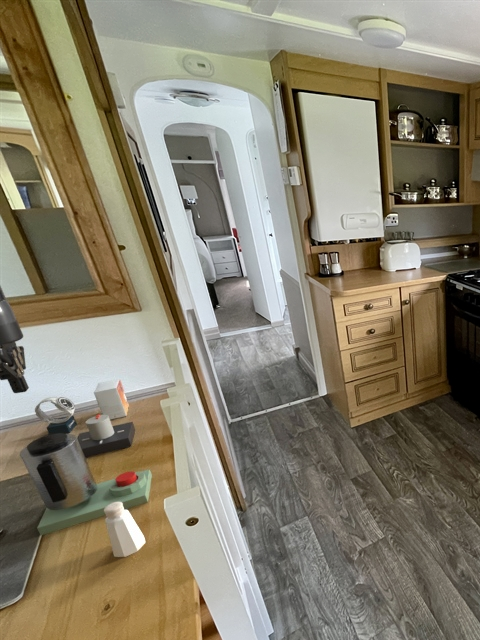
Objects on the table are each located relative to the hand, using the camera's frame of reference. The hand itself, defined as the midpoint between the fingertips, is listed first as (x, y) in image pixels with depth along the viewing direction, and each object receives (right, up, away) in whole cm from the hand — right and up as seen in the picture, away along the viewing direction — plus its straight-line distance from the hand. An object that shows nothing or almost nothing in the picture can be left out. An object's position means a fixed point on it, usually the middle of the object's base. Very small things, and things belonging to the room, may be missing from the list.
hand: (21, 391), depth 89 cm
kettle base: (+19, -27, 0) cm, 33 cm away
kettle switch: (+23, -22, +2) cm, 32 cm away
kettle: (+15, -24, -3) cm, 28 cm away
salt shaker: (+35, -32, -10) cm, 48 cm away
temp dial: (0, -15, +20) cm, 25 cm away
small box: (-11, -12, +36) cm, 40 cm away
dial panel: (0, -18, +21) cm, 28 cm away
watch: (-19, -15, +27) cm, 36 cm away
